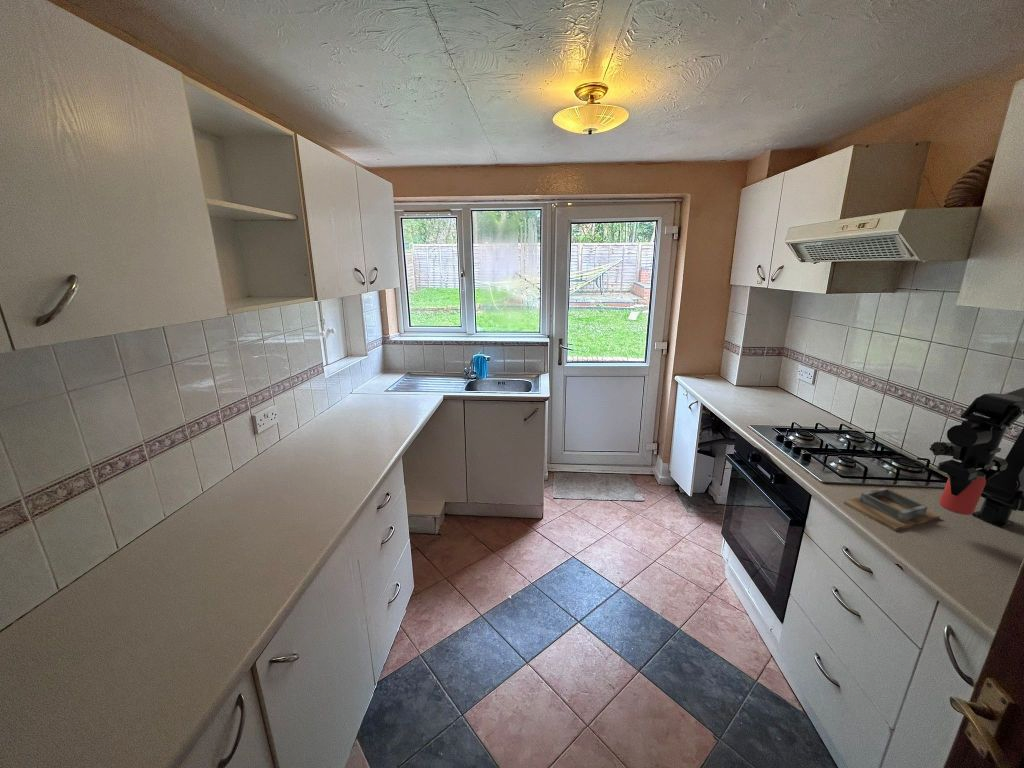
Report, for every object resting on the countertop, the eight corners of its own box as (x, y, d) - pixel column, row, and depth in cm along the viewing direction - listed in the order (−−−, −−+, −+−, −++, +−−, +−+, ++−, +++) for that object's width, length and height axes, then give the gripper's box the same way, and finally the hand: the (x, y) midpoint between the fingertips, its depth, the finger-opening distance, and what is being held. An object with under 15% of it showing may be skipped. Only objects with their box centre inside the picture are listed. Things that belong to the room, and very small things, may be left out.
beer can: (953, 501, 115) (967, 465, 111) (979, 515, 108) (996, 477, 105) (931, 502, 114) (946, 465, 111) (957, 516, 108) (973, 477, 104)
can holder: (885, 493, 132) (889, 482, 131) (939, 518, 120) (943, 507, 118) (843, 503, 126) (846, 492, 125) (895, 531, 114) (899, 519, 113)
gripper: (962, 425, 115) (943, 472, 120) (922, 433, 109) (904, 483, 114) (1018, 441, 105) (996, 492, 110) (978, 451, 99) (956, 505, 104)
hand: (961, 492), depth 110 cm, fingers closed on beer can, 7 cm apart
